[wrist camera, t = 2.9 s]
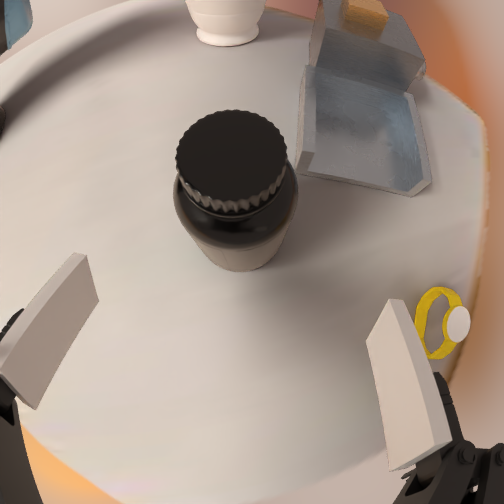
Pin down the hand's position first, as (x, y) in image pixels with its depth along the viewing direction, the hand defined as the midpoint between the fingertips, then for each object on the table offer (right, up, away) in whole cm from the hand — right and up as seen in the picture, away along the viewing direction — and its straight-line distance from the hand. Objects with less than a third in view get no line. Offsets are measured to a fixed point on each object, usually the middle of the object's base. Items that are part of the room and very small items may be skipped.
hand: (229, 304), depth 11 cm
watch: (+16, -4, +10) cm, 19 cm away
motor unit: (+13, +18, +15) cm, 27 cm away
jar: (-2, +32, +18) cm, 36 cm away
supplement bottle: (0, +4, +12) cm, 12 cm away
